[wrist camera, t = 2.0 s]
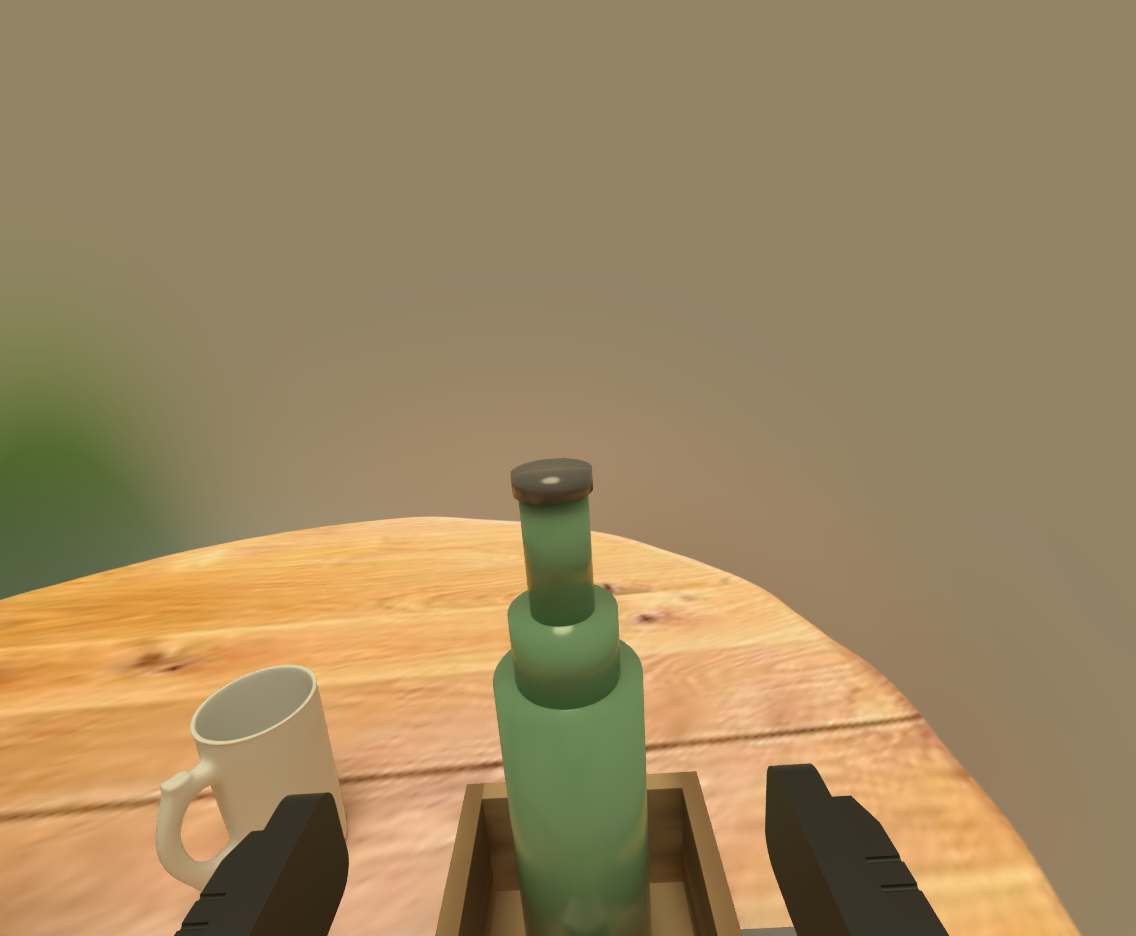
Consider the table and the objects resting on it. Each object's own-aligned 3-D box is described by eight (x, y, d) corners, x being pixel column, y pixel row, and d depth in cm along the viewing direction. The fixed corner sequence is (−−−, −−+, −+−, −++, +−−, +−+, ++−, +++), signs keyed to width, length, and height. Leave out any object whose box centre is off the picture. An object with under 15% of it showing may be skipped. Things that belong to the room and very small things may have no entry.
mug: (307, 790, 40) (271, 655, 37) (373, 823, 37) (340, 678, 34) (163, 926, 32) (97, 766, 28) (232, 982, 29) (169, 811, 25)
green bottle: (506, 981, 27) (430, 480, 19) (582, 881, 32) (545, 442, 24) (605, 1087, 23) (560, 512, 15) (675, 955, 28) (667, 459, 20)
